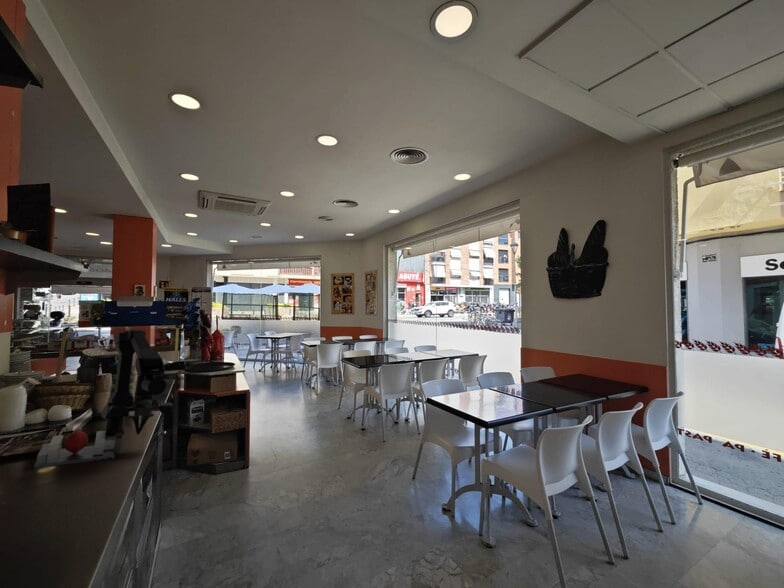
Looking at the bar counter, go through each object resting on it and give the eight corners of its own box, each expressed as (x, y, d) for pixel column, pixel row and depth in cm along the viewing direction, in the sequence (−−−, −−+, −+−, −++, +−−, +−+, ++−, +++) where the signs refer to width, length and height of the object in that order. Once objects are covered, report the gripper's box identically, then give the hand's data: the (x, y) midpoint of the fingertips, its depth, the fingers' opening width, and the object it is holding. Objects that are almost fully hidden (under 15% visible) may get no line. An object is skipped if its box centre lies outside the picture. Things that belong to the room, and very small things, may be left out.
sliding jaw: (94, 446, 121) (96, 431, 122) (119, 443, 126) (122, 429, 126) (92, 455, 114) (95, 439, 115) (119, 452, 119) (122, 436, 119)
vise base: (41, 454, 114) (44, 435, 115) (114, 446, 126) (117, 429, 127) (34, 468, 105) (37, 447, 106) (114, 458, 117) (117, 439, 117)
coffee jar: (107, 413, 161) (114, 372, 163) (129, 412, 166) (135, 372, 167) (104, 419, 153) (111, 376, 155) (127, 418, 158) (133, 376, 159)
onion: (71, 458, 112) (76, 432, 112) (57, 455, 113) (62, 429, 113) (90, 451, 117) (94, 427, 118) (76, 449, 118) (80, 424, 119)
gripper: (111, 395, 115) (103, 444, 113) (177, 393, 126) (171, 437, 125) (112, 388, 124) (105, 434, 122) (173, 387, 135) (167, 428, 134)
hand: (138, 433), depth 125 cm, fingers closed
